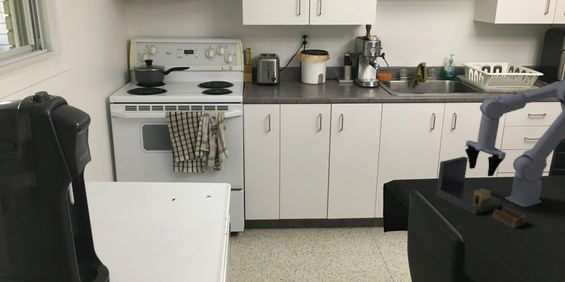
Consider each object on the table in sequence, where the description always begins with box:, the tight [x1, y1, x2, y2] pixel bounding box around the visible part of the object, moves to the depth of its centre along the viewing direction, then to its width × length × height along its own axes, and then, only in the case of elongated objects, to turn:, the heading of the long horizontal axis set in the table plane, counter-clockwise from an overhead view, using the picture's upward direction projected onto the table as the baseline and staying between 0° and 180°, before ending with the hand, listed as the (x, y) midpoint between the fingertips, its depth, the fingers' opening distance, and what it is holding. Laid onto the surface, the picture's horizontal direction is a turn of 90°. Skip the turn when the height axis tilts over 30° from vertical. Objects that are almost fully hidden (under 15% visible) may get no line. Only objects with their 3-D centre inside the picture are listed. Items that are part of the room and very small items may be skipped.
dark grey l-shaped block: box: [435, 156, 501, 215], centre depth 167 cm, size 12×17×13 cm
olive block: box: [473, 187, 492, 203], centre depth 164 cm, size 4×3×6 cm
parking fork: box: [491, 206, 527, 229], centre depth 155 cm, size 5×8×3 cm
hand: (481, 171), depth 168 cm, fingers open, 7 cm apart
